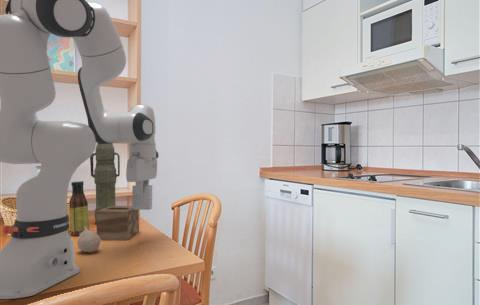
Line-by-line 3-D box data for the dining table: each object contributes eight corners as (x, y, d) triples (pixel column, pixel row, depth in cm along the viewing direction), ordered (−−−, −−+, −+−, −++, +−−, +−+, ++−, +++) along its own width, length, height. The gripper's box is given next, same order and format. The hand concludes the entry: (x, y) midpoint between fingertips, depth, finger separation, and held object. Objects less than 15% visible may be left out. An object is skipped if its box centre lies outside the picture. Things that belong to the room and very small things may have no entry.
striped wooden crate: (127, 239, 114) (127, 211, 114) (96, 239, 114) (96, 211, 114) (139, 232, 125) (138, 205, 125) (111, 231, 125) (110, 205, 125)
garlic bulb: (101, 247, 105) (100, 223, 105) (100, 253, 99) (100, 227, 99) (78, 250, 102) (78, 225, 102) (76, 256, 96) (75, 229, 96)
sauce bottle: (92, 232, 125) (91, 180, 125) (83, 236, 119) (82, 182, 119) (76, 231, 126) (75, 180, 126) (66, 236, 120) (65, 182, 120)
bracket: (149, 209, 110) (149, 185, 110) (132, 209, 110) (132, 185, 110) (152, 208, 112) (152, 185, 113) (135, 208, 113) (135, 185, 113)
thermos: (91, 221, 143) (90, 142, 143) (120, 219, 148) (119, 142, 147) (90, 226, 135) (89, 141, 135) (120, 223, 139) (119, 141, 139)
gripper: (140, 152, 101) (141, 197, 101) (160, 153, 122) (160, 190, 121) (120, 152, 101) (121, 197, 101) (143, 153, 122) (143, 190, 122)
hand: (142, 193), depth 111 cm, fingers closed on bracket, 2 cm apart
